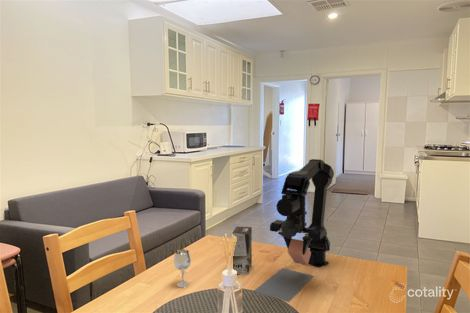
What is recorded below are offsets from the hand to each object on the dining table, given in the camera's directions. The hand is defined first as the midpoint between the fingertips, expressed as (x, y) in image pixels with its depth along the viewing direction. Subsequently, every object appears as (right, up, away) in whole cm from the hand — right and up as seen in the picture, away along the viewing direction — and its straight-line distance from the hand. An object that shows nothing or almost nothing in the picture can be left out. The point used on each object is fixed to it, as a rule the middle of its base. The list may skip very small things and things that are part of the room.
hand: (296, 252), depth 120 cm
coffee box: (-19, -10, +12) cm, 25 cm away
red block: (+3, -3, +5) cm, 7 cm away
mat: (-4, -11, 0) cm, 12 cm away
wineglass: (-40, -12, +1) cm, 42 cm away
